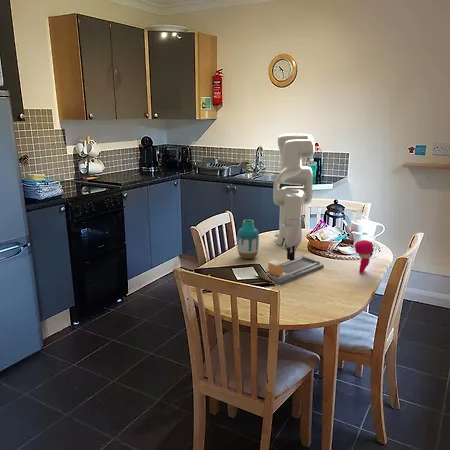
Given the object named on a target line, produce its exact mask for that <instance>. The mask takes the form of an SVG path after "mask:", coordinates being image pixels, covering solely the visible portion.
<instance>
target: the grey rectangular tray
mask: <svg viewBox="0 0 450 450" xmlns="http://www.w3.org/2000/svg"><path fill="white" fill-rule="evenodd" d="M282 263H283V274H281V275H278V276H275V275H272V274H270V273H268V268H266V269H263V270H264V271H265V272H266V274H267V275H268V276H269V277H270V278H271V279H272V281H273V282H274V283H275V284H274V285H276V284H277V285H276V286H278V285H280V286H282V285H284V284H287V283H289V282H291V281H294V280H297V279H299V278H301V277H304V276H306V275H309V274H311V273H314V272H316V271H319V270H321V269H324V265H325V264H324V263H321V262H320V260H317V259H313V258H311V257H307V256H305V255H302V256H299V257H296V258H295V260H293V261H291V260H288V261H285V262H282Z"/></svg>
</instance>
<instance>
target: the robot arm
mask: <svg viewBox="0 0 450 450" xmlns="http://www.w3.org/2000/svg"><path fill="white" fill-rule="evenodd" d="M277 147H278V149H279V152H280V155H281V158H282V159H281V160H282V161H281V171H280V172H279V173H278V175H277V176H276V178H275V179H274V182H273V187H272V188H273V189H272V191H273V192H272V193H273V194H272V196H273V197H272V198H273V201H272V202H273V203H274V205H276V206H279V221H278V222H279V223H278V224H279V226H278V227H279V228H278V229H279V230H278V232H276V233H275V234H274V237H275V238H276V240H275V243H276V245H278V246H281V247H282V250H283V251H286V259H287V260H288V261H290V260H291V261H293V260H295V259H296V258H295V255H296V251H297V248H298V246H300V244H301V243H302V239H303V238H302V237H303V232H302V231H303V230H302V223H301V222H302V205H306V206H307V205H309V204H311V203H312V198H313V181H314V180H313V179H314V178H313V177H314V175H313V174H314V173H313V170H312V167H310V166H306V165H305V166H304V165H302V159H304V158H305V159H307V158H308V159H309V158H313V157H314V155H315V152H316V151H315V150H316V149H315V141H314V137H313V135H312V134H309V133H308V134H307V133H285V134H280V135H279V136H278V138H277ZM282 183H284V184H285V185H288V186H282V187H281V188H280V185H281V184H282ZM289 185H290V186H289ZM291 185H294V186H291ZM295 185H302V186H295Z"/></svg>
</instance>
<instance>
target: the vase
mask: <svg viewBox="0 0 450 450" xmlns="http://www.w3.org/2000/svg"><path fill="white" fill-rule="evenodd" d="M236 239H237V252H238V255H239V257H240V258H242V259H244V260H251V259H255V258H256V257H257V256H258V254H259V248H260V247H259V246H260V235H259V230H258V229H257V228H256V227H255V222H254V220H253V219H244V220H243V221H242V227H240V228H239V229H238V231H237V238H236Z"/></svg>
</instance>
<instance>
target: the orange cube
mask: <svg viewBox="0 0 450 450" xmlns="http://www.w3.org/2000/svg"><path fill="white" fill-rule="evenodd" d="M267 263H268V267H267V269H268V273H270V274H272V275H275V276H278V275H281V274H283V263H284V262H281V261H279V260H277V259H274V260H270V261H268V262H267Z"/></svg>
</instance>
